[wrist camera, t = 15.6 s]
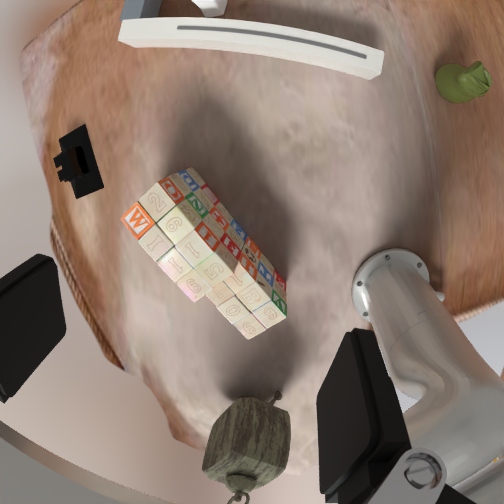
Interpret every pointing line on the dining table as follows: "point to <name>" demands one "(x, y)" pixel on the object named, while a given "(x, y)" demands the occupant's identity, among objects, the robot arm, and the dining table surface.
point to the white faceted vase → (211, 7)
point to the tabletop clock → (248, 446)
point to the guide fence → (245, 39)
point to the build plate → (78, 163)
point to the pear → (462, 82)
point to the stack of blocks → (207, 252)
